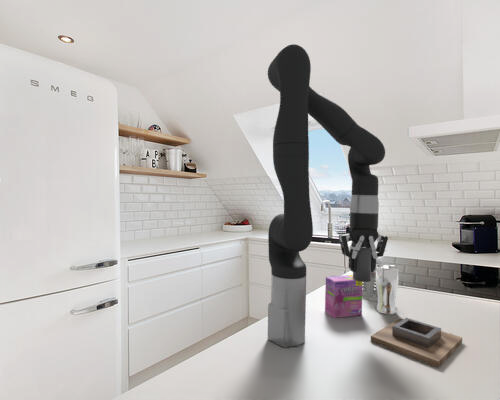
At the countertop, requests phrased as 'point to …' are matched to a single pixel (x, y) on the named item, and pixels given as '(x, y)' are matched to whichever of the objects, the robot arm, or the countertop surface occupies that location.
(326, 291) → the box
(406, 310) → the countertop surface
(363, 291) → the french press
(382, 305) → the beer glass
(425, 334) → the mount
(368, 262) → the grey rounded cylinder
